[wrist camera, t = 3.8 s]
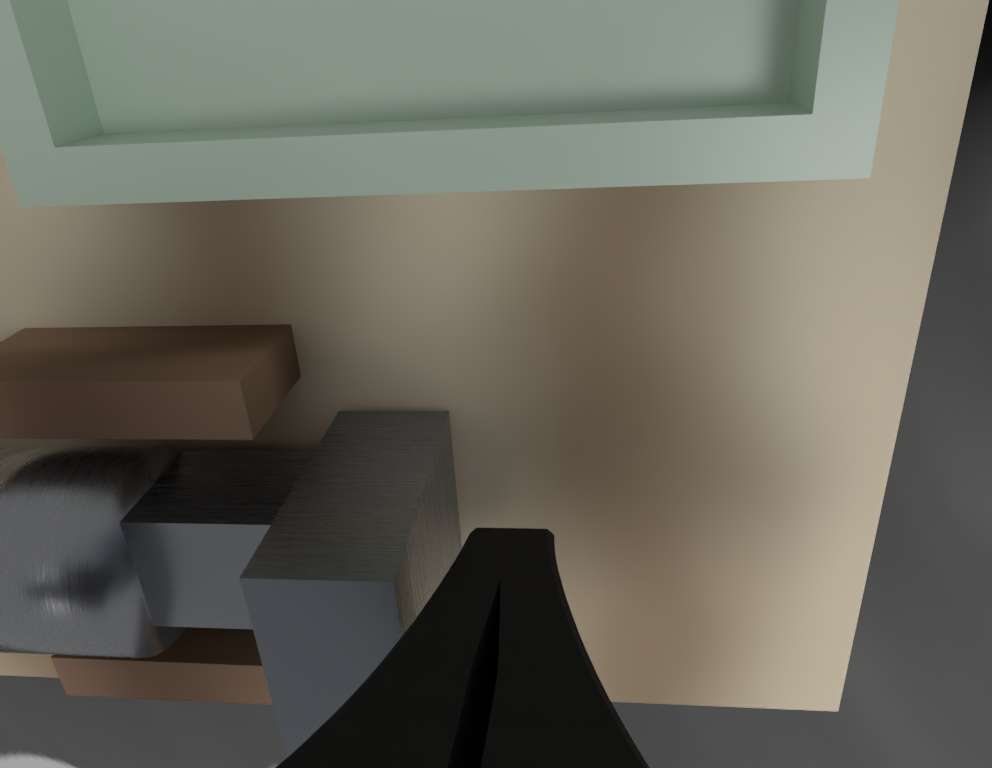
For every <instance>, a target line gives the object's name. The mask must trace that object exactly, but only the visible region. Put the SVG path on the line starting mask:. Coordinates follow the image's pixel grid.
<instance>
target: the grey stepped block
mask: <svg viewBox="0 0 992 768" xmlns="http://www.w3.org/2000/svg"><path fill="white" fill-rule="evenodd" d="M119 523H120V526H121V529H122V532H123V535H124V538H125V541H126V543H127V546H128V549H129V552H130V555H131V558H132V561H133V564H134V567H135V570H136V573H137V575H138V578H139V581H140V584H141V587H142V590H143V593H144V596H145V599H146V602H147V604H148V607H149V610H150V613H151V616H152V619H153V622H154V625H155V626H168V627H197V628H226V629H253V632H254V636H255V639H256V643H257V647H258V651H259V654H260V658H261V662H262V666H263V669H264V673H265V677H266V680H267V684H268V688H269V692H270V695H271V699H272V703H273V707H274V710H275V714H276V718H277V722H278V725H279V729H280V733H281V737H282V740H283V744H284V748H285V752H286V755H287V757H288V756H290V755H291V754H292V753H293V752H294V751H295V750H296V749H297V748H298V747H300V746H301V745H302V744H303V743H304V742H305V741H306V740H307V739H308V738H309V737H310V736H311V735H312V734H313V733H314V732H315V731H316V730H317V729H319V728H320V727H321V726H322V725H323V724H324V723H325V722H326V721H327V720H328V719H329V718H330V717H331V716H332V715H333V714H334V713H335V712H336V711H337V710H338V709H339V708H340V707H341V706H342V705H343V704H344V703H345V702H346V701H347V700H348V699H349V698H350V697H351V695H352V694H353V693H354V692H355V691H356V690H357V689H358V688H359V687H360V686H361V685H362V684H363V683H364V681H365V680H366V679H367V678H368V677H369V676H370V675H371V673H372V672H373V671H374V670H375V669H376V668H377V667H378V665H379V664H380V663H381V662H382V661H383V659H384V658H385V657H386V656H387V654H388V653H389V652H390V651H391V649H392V648H393V647H394V646H395V644H396V643H397V642H398V641H399V639H400V638H401V637H402V636H403V634H404V633H405V632H406V631H407V629H408V628H409V627H410V626H411V624H412V623H413V622H414V620H415V619H416V617H417V616H418V615H419V613H420V612H421V610H422V609H423V608H424V606H425V605H426V603H427V602H428V600H429V599H430V598H431V596H432V595H433V593H434V592H435V590H436V589H437V588H438V586H439V585H440V583H441V581H442V580H443V578H444V577H445V575H446V574H447V572H448V571H449V569H450V567H451V566H452V564H453V563H454V561H455V559H456V558H457V556H458V554H459V552H460V551H461V549H462V543H461V533H460V522H459V512H458V501H457V491H456V480H455V469H454V459H453V448H452V438H451V427H450V417H449V411H338V413H337V415H336V416H335V418H334V420H333V422H332V423H331V425H330V427H329V428H328V430H327V432H326V433H325V435H324V437H323V438H322V440H321V442H320V443H319V445H318V447H317V448H316V450H183V451H182V453H181V454H180V455H179V456H178V457H177V458H176V459H175V460H174V462H173V463H172V464H171V465H170V466H169V467H168V468H167V469H166V471H165V472H164V473H163V474H162V475H161V476H160V477H159V478H158V480H157V481H156V482H155V483H154V484H153V485H152V486H151V487H150V488H149V490H148V491H147V492H146V493H145V494H144V495H143V496H142V497H141V499H140V500H139V501H138V502H137V503H136V504H135V505H134V506H133V508H132V509H131V510H130V511H129V512H128V513H127V514H126V515H125V516H124V518H123V519H122V520H121V521H120V522H119Z"/></svg>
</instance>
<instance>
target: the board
mask: <svg viewBox="0 0 992 768" xmlns="http://www.w3.org/2000/svg"><path fill="white" fill-rule="evenodd" d="M988 3H989V0H899V6H898V13H897V19H896V25H895V31H894V37H893V43H892V49H891V55H890V61H889V67H888V73H887V79H886V85H885V91H884V98H883V104H882V110H881V116H880V122H879V128H878V134H877V140H876V146H875V152H874V158H873V164H872V170H871V176H870V178H866V179H837V180H807V181H778V182H749V183H719V184H690V185H661V186H632V187H602V188H573V189H544V190H514V191H485V192H456V193H426V194H397V195H368V196H339V197H309V198H280V199H251V200H221V201H192V202H163V203H134V204H104V205H75V206H46V207H20V204H19V201H18V198H17V195H16V192H15V189H14V186H13V183H12V180H11V177H10V174H9V171H8V168H7V165H6V163H5V160H4V157H3V154H2V151H1V148H0V342H1V341H3V340H5V339H6V338H8V337H10V336H11V335H13V334H15V333H17V332H18V331H20V330H22V329H24V328H66V327H137V326H207V325H278V324H291V327H292V332H293V337H294V342H295V348H296V353H297V358H298V363H299V369H300V374H301V377H300V378H299V380H298V381H297V382H296V384H295V385H294V386H293V388H292V389H291V390H290V392H289V393H288V394H287V396H286V397H285V398H284V399H283V401H282V402H281V403H280V405H279V406H278V407H277V409H276V410H275V411H274V413H273V414H272V415H271V417H270V418H269V419H268V421H267V422H266V423H265V425H264V426H263V427H262V429H261V430H260V431H259V433H258V434H257V435H256V437H255V438H254V439H253V440H203V439H0V445H18V446H171V447H176V448H178V449H180V450H316V448H317V447H318V445H319V443H320V442H321V440H322V438H323V437H324V435H325V433H326V432H327V430H328V428H329V427H330V425H331V423H332V422H333V420H334V418H335V416H336V415H337V413H338V411H449V417H450V427H451V438H452V448H453V459H454V469H455V480H456V491H457V501H458V512H459V522H460V533H461V543H462V547H463V545H464V544H465V542H466V540H467V538H468V536H469V534H470V533H471V532H472V531H473V530H474V529H475V528H533V529H548V530H549V531H550V532H551V533H553V534H554V538H555V555H556V561H557V566H558V570H559V574H560V578H561V582H562V585H563V589H564V592H565V595H566V599H567V602H568V604H569V607H570V610H571V613H572V615H573V618H574V621H575V623H576V626H577V629H578V632H579V634H580V637H581V639H582V641H583V644H584V646H585V649H586V651H587V653H588V655H589V657H590V660H591V662H592V664H593V666H594V668H595V671H596V673H597V675H598V677H599V679H600V681H601V683H602V685H603V687H604V689H605V691H606V693H607V695H608V697H609V699H610V701H611V702H630V703H653V704H676V705H699V706H722V707H746V708H769V709H792V710H815V711H838V710H839V705H840V701H841V696H842V691H843V686H844V682H845V677H846V672H847V668H848V663H849V658H850V653H851V649H852V644H853V639H854V635H855V630H856V625H857V620H858V616H859V611H860V606H861V602H862V597H863V592H864V587H865V583H866V578H867V573H868V569H869V564H870V559H871V554H872V550H873V545H874V540H875V536H876V531H877V526H878V521H879V517H880V512H881V507H882V503H883V498H884V493H885V488H886V484H887V479H888V474H889V470H890V465H891V460H892V455H893V451H894V446H895V441H896V437H897V432H898V427H899V422H900V418H901V413H902V408H903V404H904V399H905V394H906V389H907V385H908V380H909V375H910V371H911V366H912V361H913V356H914V352H915V347H916V342H917V338H918V333H919V328H920V323H921V319H922V314H923V309H924V305H925V300H926V295H927V290H928V286H929V281H930V276H931V272H932V267H933V262H934V257H935V253H936V248H937V243H938V239H939V234H940V229H941V224H942V220H943V215H944V210H945V206H946V201H947V196H948V191H949V187H950V182H951V177H952V173H953V168H954V163H955V158H956V154H957V149H958V144H959V140H960V135H961V130H962V125H963V121H964V116H965V111H966V107H967V102H968V97H969V92H970V88H971V83H972V78H973V74H974V69H975V64H976V59H977V55H978V50H979V45H980V41H981V36H982V31H983V26H984V22H985V17H986V12H987V8H988ZM52 655H53V654H28V653H2V652H0V675H7V676H30V677H53V678H59V676H58V674H57V671H56V669H55V667H54V664H53V662H52V660H51V656H52Z"/></svg>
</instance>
